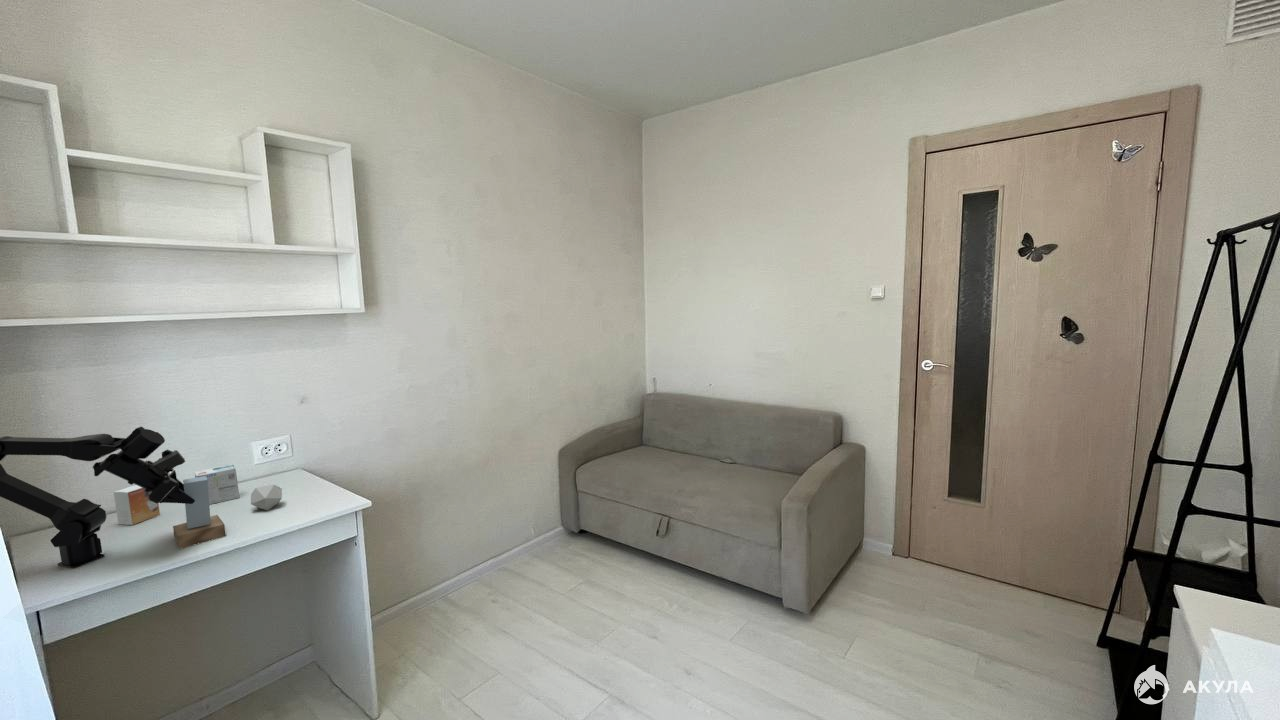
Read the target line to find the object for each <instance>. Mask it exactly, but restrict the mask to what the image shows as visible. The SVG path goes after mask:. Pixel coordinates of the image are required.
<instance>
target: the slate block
mask: <svg viewBox="0 0 1280 720" xmlns="http://www.w3.org/2000/svg"><path fill="white" fill-rule="evenodd" d="M182 483H183V484H184V492H185V493H186V494H188V495H189V496H190V497H192V498H193V499H194V500H195V502H194V503H193V504H184V505H185V506H184V507H185V517H186V523H187V528H188V529H191V528H195V527H200V526H205V525H209V524H211V521H210V516H211V510H210V504H209V495H208V482H207V477H206V476H203V477H197V478H195V477H191V478H186V479H183V480H182Z"/></svg>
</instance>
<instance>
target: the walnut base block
mask: <svg viewBox="0 0 1280 720" xmlns="http://www.w3.org/2000/svg"><path fill="white" fill-rule="evenodd" d="M210 521H211V524H209V525H205V526H200V527H195V528H191V529H188V528H187V522H184V523H179V524H176V525H172V529H173V530H172V531H173V537H174V540H175V542H176V544H177V546H178V548H179V549H180V550H181V548H182V549H185V548H188V546H189V547H192V546H195V545H194V544H196V545H199V544H203V543H206V542H210V541H213V540H217V539H220V538H223V537H227V534H226V528H225V527H226V526H225V523H224V521H223V520H222V519H221V517H220V516H219V515H218V514H216V515H210ZM216 538H217V539H216ZM212 539H213V540H212ZM209 540H210V541H209ZM202 542H203V543H202ZM198 543H199V544H198Z"/></svg>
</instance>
